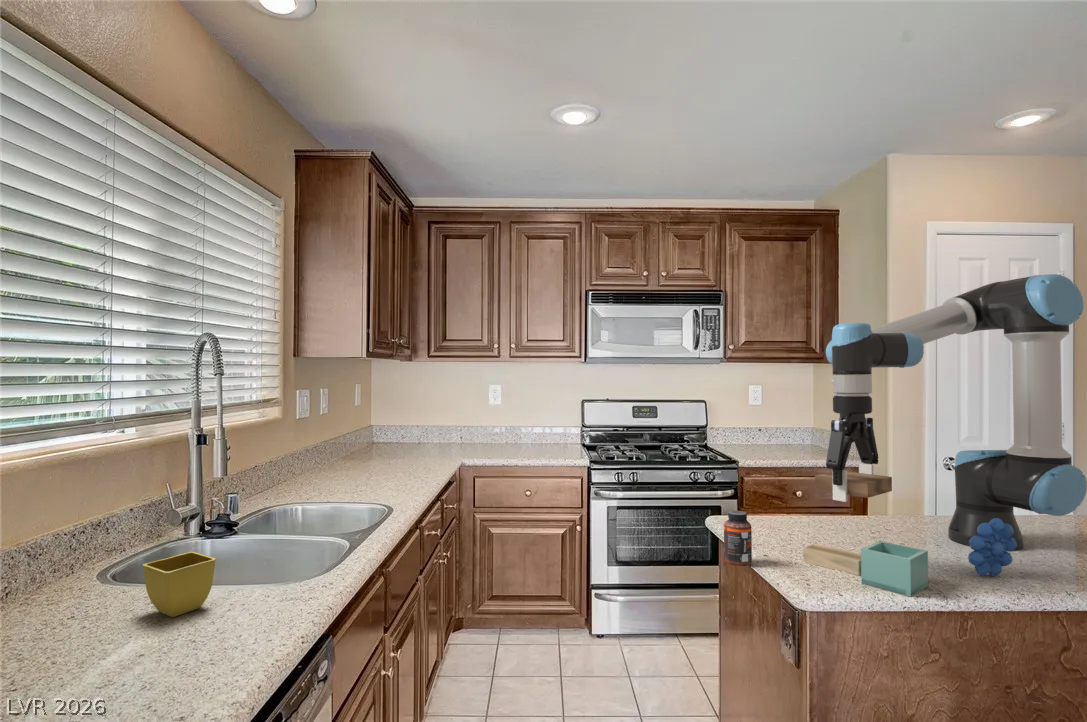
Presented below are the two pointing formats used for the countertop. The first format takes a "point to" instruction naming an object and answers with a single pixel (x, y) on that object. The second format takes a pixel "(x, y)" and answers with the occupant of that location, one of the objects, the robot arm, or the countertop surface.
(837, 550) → the wooden block
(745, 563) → the supplement bottle
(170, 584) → the flower pot
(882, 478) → the lid
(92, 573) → the countertop surface
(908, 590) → the teal open box
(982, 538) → the grapes
